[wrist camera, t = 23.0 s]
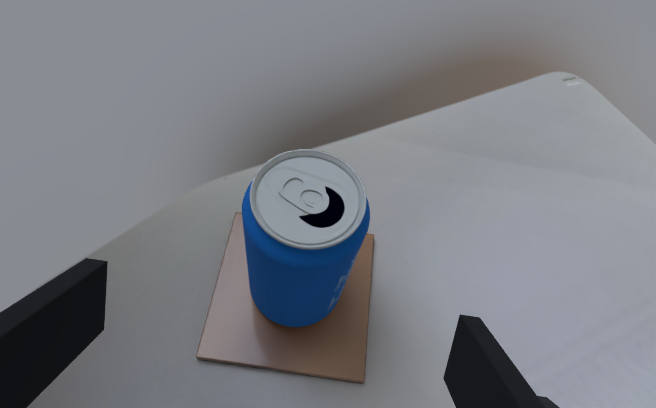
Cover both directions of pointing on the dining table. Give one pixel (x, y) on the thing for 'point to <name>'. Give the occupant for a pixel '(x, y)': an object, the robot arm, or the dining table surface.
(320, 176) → the beverage can
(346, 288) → the cork mat
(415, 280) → the dining table surface
